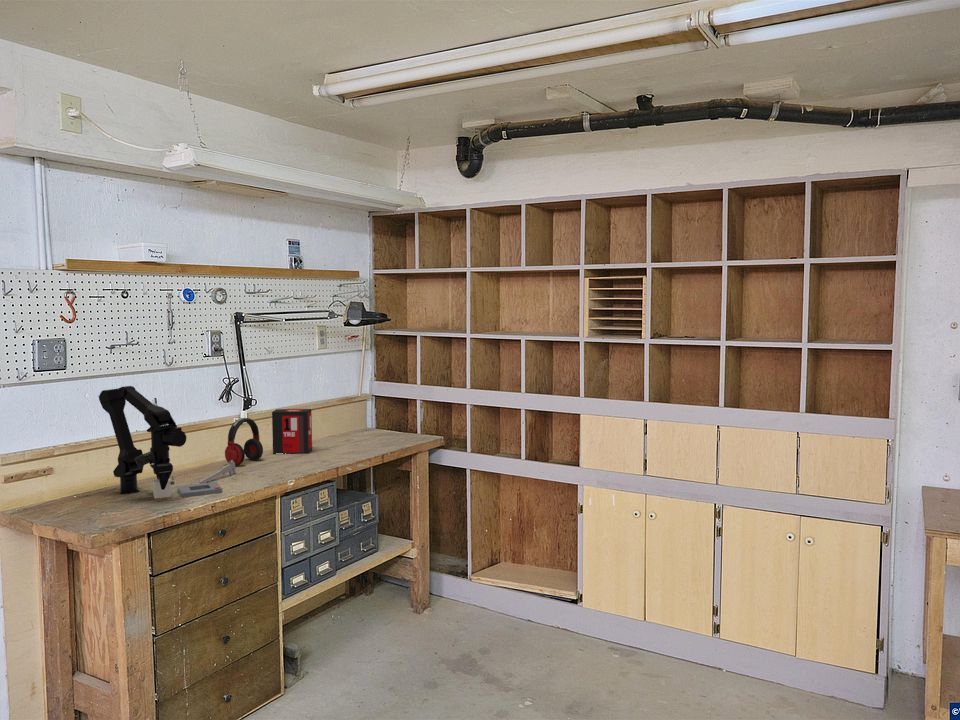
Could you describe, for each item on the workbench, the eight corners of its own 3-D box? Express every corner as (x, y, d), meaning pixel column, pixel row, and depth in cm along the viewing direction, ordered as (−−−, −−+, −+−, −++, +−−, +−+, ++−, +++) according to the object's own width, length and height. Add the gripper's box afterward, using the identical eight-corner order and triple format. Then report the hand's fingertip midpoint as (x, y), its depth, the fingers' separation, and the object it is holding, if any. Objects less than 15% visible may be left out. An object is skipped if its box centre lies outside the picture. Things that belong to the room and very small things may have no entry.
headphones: (239, 468, 310) (238, 421, 309) (221, 466, 314) (220, 420, 313) (266, 459, 326) (265, 416, 325) (248, 458, 330) (247, 414, 329)
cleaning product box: (273, 454, 339) (271, 411, 338) (277, 450, 348) (276, 409, 347) (308, 453, 340) (307, 411, 338) (312, 450, 349) (311, 408, 347)
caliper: (233, 474, 299) (233, 459, 299) (235, 474, 299) (235, 459, 299) (196, 485, 281) (196, 469, 280) (198, 485, 280) (198, 469, 280)
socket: (177, 490, 272) (177, 484, 272) (216, 485, 279) (216, 480, 279) (182, 497, 262) (181, 491, 262) (222, 492, 269) (222, 486, 269)
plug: (153, 495, 265) (152, 479, 264) (173, 493, 268) (173, 477, 268) (154, 498, 261) (154, 482, 261) (175, 496, 264) (174, 480, 264)
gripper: (133, 442, 267) (135, 484, 268) (137, 451, 251) (139, 495, 252) (166, 439, 273) (167, 480, 274) (172, 448, 256) (173, 491, 258)
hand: (161, 486), depth 264 cm, fingers open, 9 cm apart
